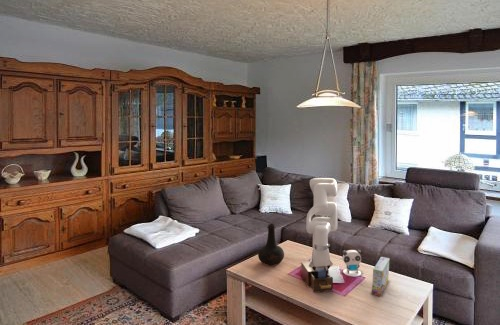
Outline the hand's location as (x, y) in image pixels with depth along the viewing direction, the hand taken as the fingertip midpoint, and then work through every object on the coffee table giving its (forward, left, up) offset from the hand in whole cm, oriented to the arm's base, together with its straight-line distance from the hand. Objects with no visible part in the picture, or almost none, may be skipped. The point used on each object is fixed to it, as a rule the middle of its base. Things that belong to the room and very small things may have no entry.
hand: (320, 276), depth 204 cm
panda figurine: (-31, +7, -8) cm, 33 cm away
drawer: (0, 0, -7) cm, 7 cm away
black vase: (-14, -44, -8) cm, 47 cm away
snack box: (-22, +28, -8) cm, 37 cm away
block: (0, 0, 0) cm, 0 cm away
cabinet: (-8, -8, -8) cm, 14 cm away
